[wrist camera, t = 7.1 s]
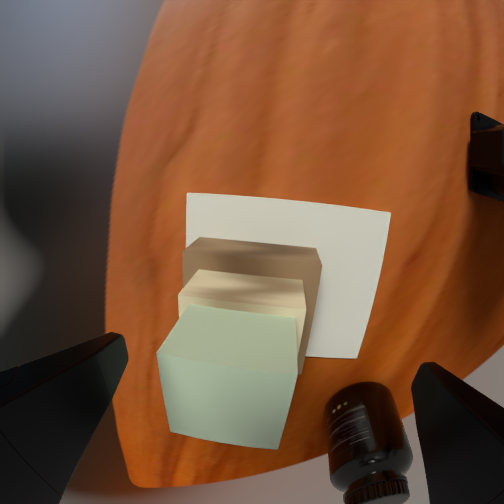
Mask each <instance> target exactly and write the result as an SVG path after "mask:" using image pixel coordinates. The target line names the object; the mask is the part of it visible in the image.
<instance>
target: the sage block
mask: <svg viewBox="0 0 504 504" xmlns="http://www.w3.org/2000/svg"><path fill="white" fill-rule="evenodd" d="M157 359H158V366H159V373H160V379H161V385H162V391H163V397H164V402H165V407H166V412H167V417H168V422H169V427H170V431H171V432H174V433H178V434H182V435H186V436H191V437H195V438H200V439H205V440H210V441H215V442H221V443H227V444H233V445H240V446H247V447H255V448H265V449H276V450H278V447H279V444H280V440H281V437H282V433H283V430H284V426H285V423H286V419H287V415H288V411H289V408H290V404H291V400H292V396H293V392H294V388H295V384H296V380H297V375H298V368H297V340H296V318H295V317H287V316H278V315H269V314H260V313H251V312H243V311H235V310H228V309H221V308H214V307H207V306H200V305H193V304H189V305H188V307H187V308H186V310H185V311H184V313H183V314H182V315H181V317H180V318H179V320H178V321H177V323H176V324H175V326H174V327H173V329H172V330H171V332H170V333H169V335H168V336H167V338H166V339H165V341H164V342H163V344H162V345H161V347H160V348H159V350H158V351H157Z"/></svg>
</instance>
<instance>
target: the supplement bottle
mask: <svg viewBox="0 0 504 504" xmlns="http://www.w3.org/2000/svg"><path fill="white" fill-rule="evenodd" d="M325 421H326V432H327V444H328V457H329V471H330V480H331V482H332V484H333V486H334V487H335V488H337V489H338V490H340V491H342V492H345V493H344V495H343V501H344V503H345V504H403V503H404V502H406V501H407V500H408V498H409V497H410V494H409V489H408V485H407V484H408V481H407V477H406V476H404V475H405V474H406V473H407V471H408V470H409V468H410V466H411V463H412V460H413V455H412V450H411V447H410V444H409V441H408V438H407V435H406V432H405V429H404V426H403V423H402V420H401V418H400V415H399V412H398V409H397V406H396V404H395V401H394V399H393V396H392V394H391V392H390V390H389V389H388V388H387V387H386V386H384V385H382V384H380V383H376V382H360V383H356V384H353V385H350V386H348V387H345V388H344V389H342V390H340V391H339V392H337V393H336V394H335V395H334V396H333V397H332V398H331V399H330V401H329V402H328V404H327V406H326V409H325Z"/></svg>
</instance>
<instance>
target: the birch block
mask: <svg viewBox="0 0 504 504" xmlns="http://www.w3.org/2000/svg"><path fill="white" fill-rule="evenodd" d="M178 304H179V318H180V317H181V315H182V314H183V313H184V311H185V310H186V308H187V307H188V305H189V304H193V305H200V306H207V307H214V308H221V309H228V310H235V311H243V312H251V313H260V314H269V315H278V316H287V317H295V318H296V340H297V358H298V352H299V347H300V342H301V337H302V332H303V326H304V321H305V315H306V302H305V295H304V288H303V281H302V280H295V279H285V278H275V277H265V276H255V275H246V274H236V273H227V272H218V271H209V270H201V269H199V270H198V271H197V272H196V273H195V274H194V276H193V277H192V278H191V279H190V280H189V282H188V283H187V284H186V285H185V287H184V288H183V289H182V290H181V292H180V293H179V294H178Z"/></svg>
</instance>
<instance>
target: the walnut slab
mask: <svg viewBox="0 0 504 504" xmlns="http://www.w3.org/2000/svg"><path fill="white" fill-rule="evenodd" d="M182 253H183V288H184V287H185V285H186V284H187V283H188V282H189V280H190V279H191V278H192V277H193V276H194V274H195V273H196V272H197V271H198V270H199V269H201V270H209V271H218V272H227V273H236V274H246V275H255V276H265V277H275V278H285V279H295V280H302V281H303V288H304V295H305V302H306V315H305V321H304V326H303V332H302V337H301V342H300V347H299V352H298V358H297V368H298V374H300V375H301V374H302V370H303V365H304V361H305V356H306V351H307V347H308V342H309V337H310V332H311V327H312V322H313V317H314V312H315V306H316V301H317V295H318V289H319V283H320V277H321V271H322V263H321V260H320V258H319V255H318V252H317V249H316V248H311V247H301V246H291V245H281V244H271V243H260V242H250V241H239V240H228V239H218V238H207V237H199V238H198V239H196V240H195V241H194V242H193V243H192V244H190V245H189V246H188V247H187V248H186V249H185V250H183V251H182Z"/></svg>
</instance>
